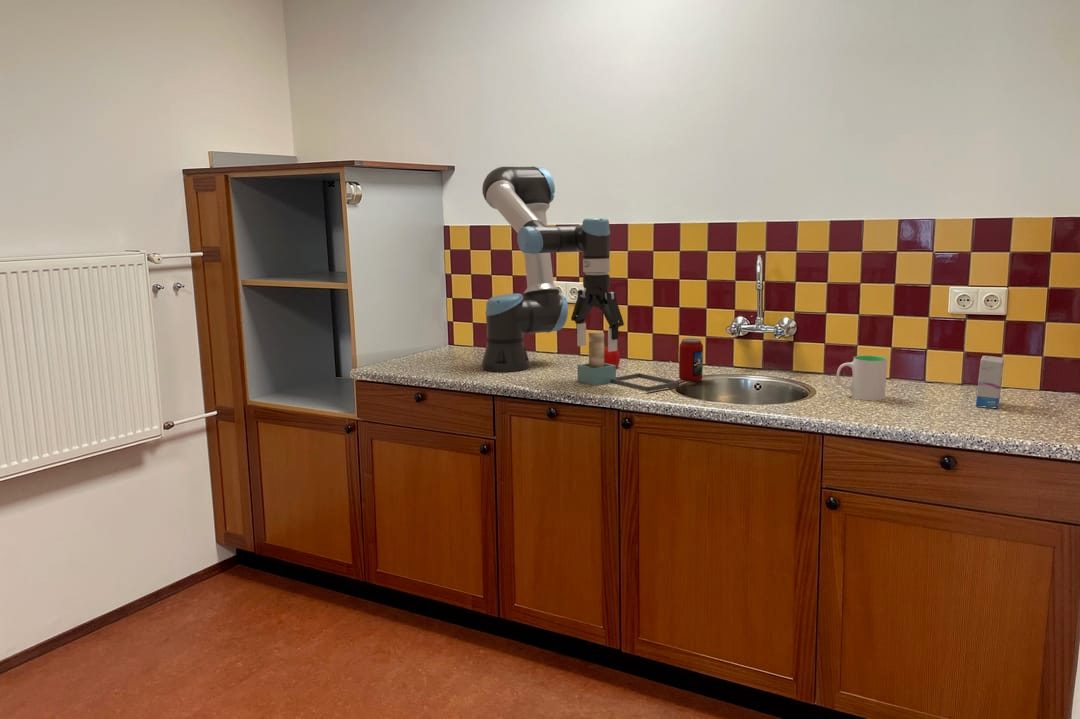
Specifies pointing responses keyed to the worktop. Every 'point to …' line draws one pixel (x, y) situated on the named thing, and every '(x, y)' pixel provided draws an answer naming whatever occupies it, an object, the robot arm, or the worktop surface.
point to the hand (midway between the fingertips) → (596, 348)
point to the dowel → (596, 349)
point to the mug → (867, 377)
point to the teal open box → (596, 374)
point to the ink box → (989, 381)
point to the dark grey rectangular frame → (668, 384)
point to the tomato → (611, 357)
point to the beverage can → (691, 360)
